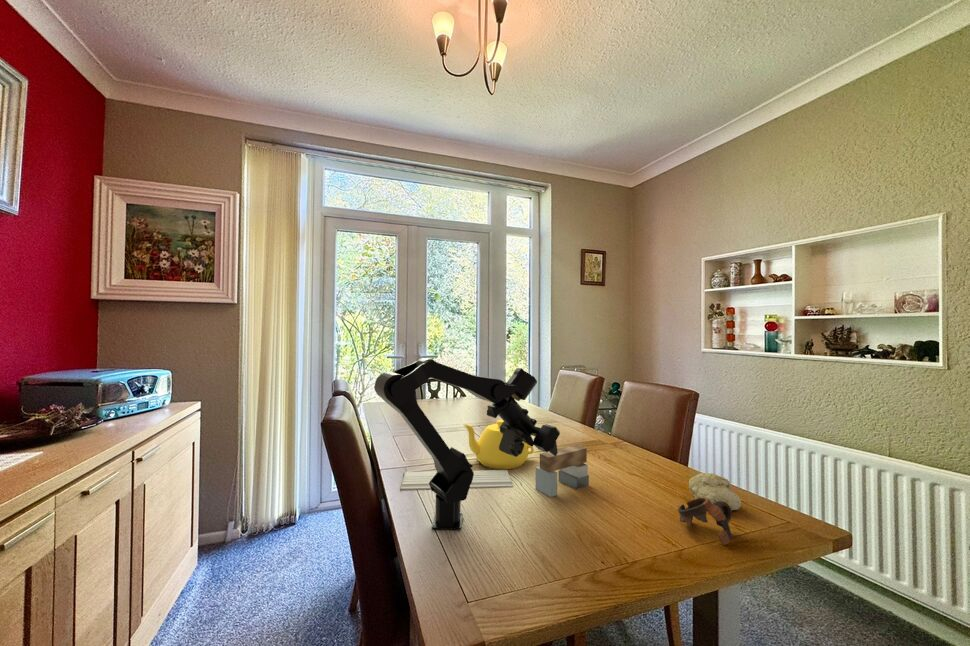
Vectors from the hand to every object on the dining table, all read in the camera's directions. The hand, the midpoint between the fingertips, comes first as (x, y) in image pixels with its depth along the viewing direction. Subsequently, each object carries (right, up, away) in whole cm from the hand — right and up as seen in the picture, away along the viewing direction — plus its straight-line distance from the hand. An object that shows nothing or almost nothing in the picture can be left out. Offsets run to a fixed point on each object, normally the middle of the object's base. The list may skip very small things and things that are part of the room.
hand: (544, 449), depth 100 cm
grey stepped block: (+9, -12, +6) cm, 16 cm away
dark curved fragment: (+33, -12, -19) cm, 40 cm away
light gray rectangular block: (+1, -12, 0) cm, 12 cm away
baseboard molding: (-24, -12, +6) cm, 28 cm away
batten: (+6, -6, +4) cm, 9 cm away
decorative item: (+43, -12, -5) cm, 45 cm away
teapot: (-12, -12, +24) cm, 29 cm away
